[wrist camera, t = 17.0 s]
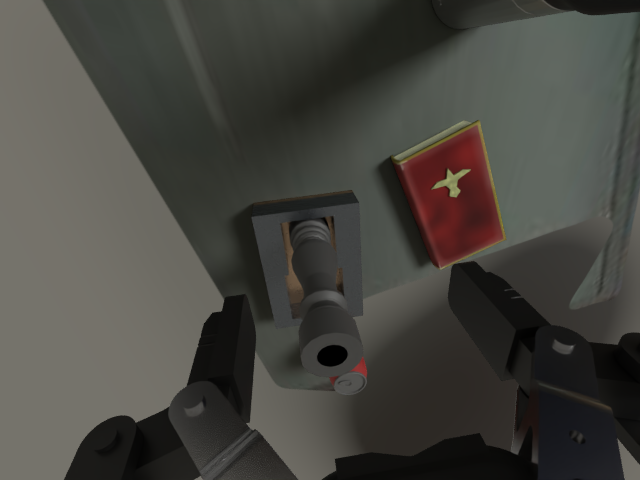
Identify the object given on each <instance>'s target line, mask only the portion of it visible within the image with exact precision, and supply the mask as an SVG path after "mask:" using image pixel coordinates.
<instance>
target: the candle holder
mask: <svg viewBox="0 0 640 480" xmlns="http://www.w3.org/2000/svg"><path fill="white" fill-rule="evenodd" d="M289 238H290V244H291V246H292V248H293V251H294V252H293V255H292V259H291V263H292V268H293V271H294V273H295V275H296V277H297V279H298V281H299V282H300V284H301V286H302V288H303V291H304V298H303V299H302V300H301V304H300V307H299V312H300V317H301V319H302V320H303V321H302V323H301V325H300V328H299V343H300V355H301V361H302V366H303V367H304V368H305V369H306V370H307V371H308V372H309V373H312V374H314V375H316V376H320V377H334V376H340V375H343V374H345V373H347V372H349V371H351V370H353V369H354V368H355V367H356V366H357V365H358V364H359V363H360V361H361V359H362V357H363V346H362V342H361V339H360V335H359V332H358V329H357V326H356V322H355V320H354V319H353V317H352V316H351V315H350V314H349V313H348V312H347V311H348V305H347V300H346V299H345V297H344V296H343V294H342V293H341V292H339V291H337V287H336V276H337V267H338V258H337V253H336V251H335V250H334V248H333V246H332V245H331V233H330V229H329V226H328V223H327V221H326V219H325V218H324V217H322V218H314V219H307V220H300V221H292V222H290V226H289Z"/></svg>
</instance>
